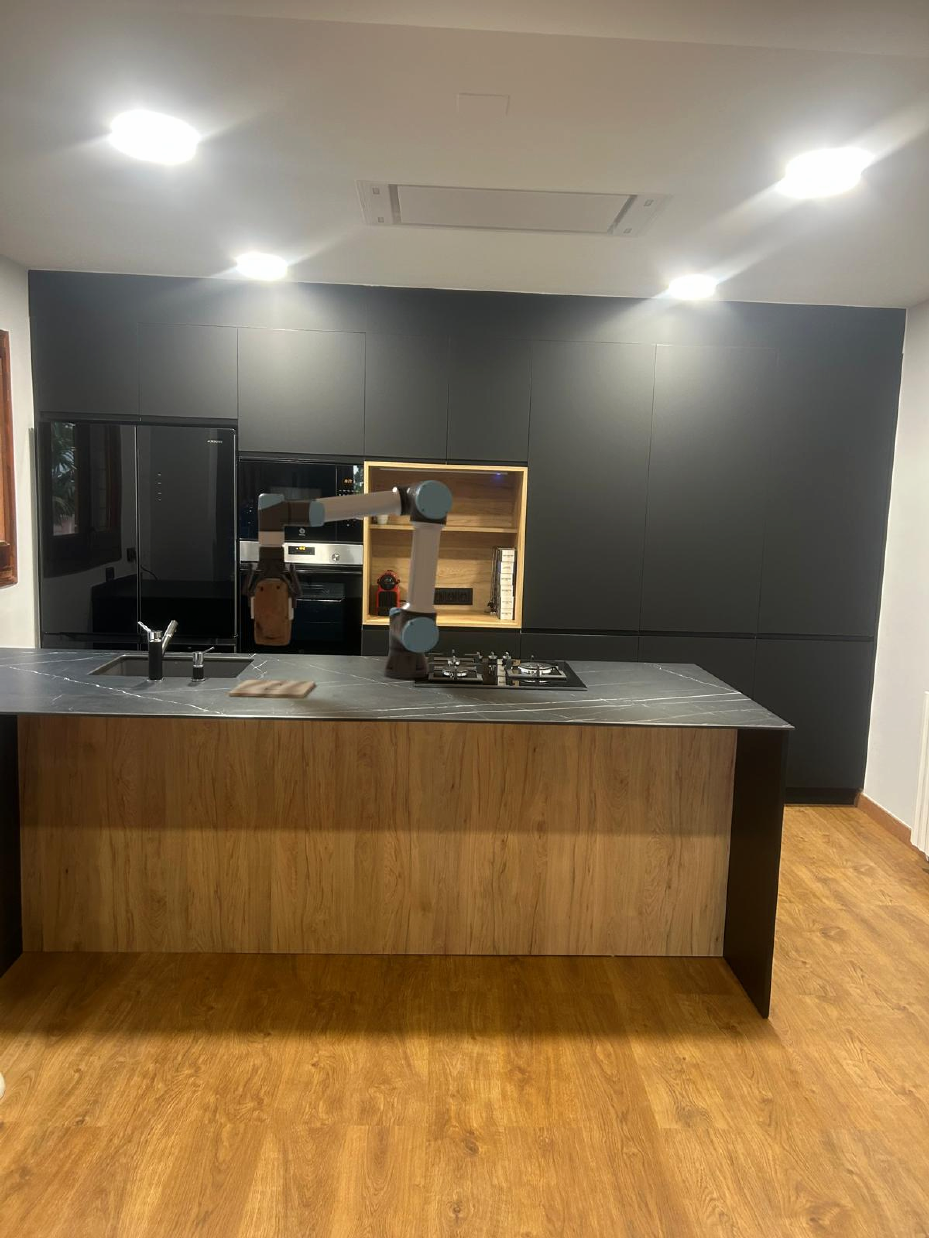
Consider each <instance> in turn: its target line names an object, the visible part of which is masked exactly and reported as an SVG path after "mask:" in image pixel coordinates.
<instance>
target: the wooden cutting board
mask: <svg viewBox="0 0 929 1238" xmlns="http://www.w3.org/2000/svg"><path fill="white" fill-rule="evenodd" d="M314 685H315V686H316V681H308V680H306V681H305V680H304V681H303V680H269V679H267V680H265V679H246V680H244V681H242V682H241V683H240V684H238V685H237V686H236V687H235V688H233V689H232V690H231V691H229V692H228V697H245V696H261V697H260V698H291V699H292V698H293V699H303V698H304V697H305V696H306V695H307V694H308V693H309V692H310V691H311V688H312V689H313V688H314ZM264 696H265V697H264Z"/></svg>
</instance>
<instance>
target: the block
mask: <svg viewBox="0 0 929 1238" xmlns="http://www.w3.org/2000/svg"><path fill="white" fill-rule="evenodd" d="M287 582H288V583H290V584H291V581H290V580H289V579H287ZM287 589H288V588H287V584H286V583H285V582H283V581H281V580H280V579H279V578H278V577H272V578H269V577H266V578H264V579H263V580H261V582H259V583H258V585H257V587H256V591H255V593H254V596H255V599H254V615H255V618H254V641H255V644H258V645H264V646H287V645H289V644H290V642H291V633H292V620H293V619H292V620H289V598H290V597H291V596H290V594H289V593H288V591H287Z"/></svg>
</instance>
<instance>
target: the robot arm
mask: <svg viewBox="0 0 929 1238" xmlns="http://www.w3.org/2000/svg"><path fill="white" fill-rule="evenodd" d="M453 504H454V503H453V494H452V492H451V491H450V489H449V487H447V485H446V484H444V483H442V482H441V481H438V480H435V479H434V480H433V479H432V480H430V479H428V480H421V481H417V482H416V481H415V482H413V483H410V484H406V485H405V484H404V485H401V486H394V487H393V488H392V490H384V491H377V492H376V491H375V492H367V493H366V492H365V493H357V494H348V495H341V496H340V495H339V496H338V495H337V496H331V497H329V496H328V497H322V498H320V497H319V498H315V499H303V500H300V499H299V500H285V495H284V494H282V493H279V494H278V493H261V494H260V495H259V496H258V505H257V506H258V507H257V518H258V519H257V520H258V545H260V546H259V547H258V561H257V562H250V563H249V562H248V564H247V569H248V571H247V574H246V577H245V580H244V583H243V586H242V588H241V594H242V595H244V596H246V597H247V606H248V608H250V615H251V617H250V618H251V619H253V620H255V615H254V599H255V591H256V587H257V585H258V583H259V582H261V580H263V579H266V578H269V577H272V578H277V579H280V580H281V581H283V582H285V583H286V584H287V588H288V589H287V591H288V593H289V594H290V596H291V597H290V598H289V620H293V619H294V609H297V604H298V603H297V602H298V601H297V598H298V597H301V596H302V595H303V590H302V587H301V584H300V581H299V578H298V575H297V572H296V564H295V563H286V561H285V560H286V559H285V555H286V553H285V547H284V545H285V527H313V528H314V527H322V526H324V524H325V523H327V522H335V521H342V520H351V519H353V520H354V519H361V518H368V517H377V516H378V517H380V516H387V515H396V516H397V517H407V516H408V517H409V523H410V525H412V527H413V532H412V543H411V544H412V545H411V555H410V564H409V571H408V572H409V574H408V584H407V593H406V603H404V604H403V605H402V606H400V607H399V606H398V607H397V606H395V607H391V608H390V609H389V615H388V619H389V624H388V625H389V631H388V634H389V635H388V637H389V638H388V639H389V643H388V645H389V646H388V647H389V649H388V650H389V651H388V655H387V658H386V661H385V664H384V666H383V667H384V668H383V675H384V676H385V677H388V678H393V679H405V680H407V679H409V680H411V679H421V678H425V677H427V676H426V675H427V674H428V671H429V670H430V668H429V663H428V662H427V658H426V655H425V652H429V651H430V650H432V649H433V648H434V647H435V646H436V645H437V642H438V640H439V636H440V632H439V630H440V629H439V627H438V625H437V618H438V610H437V609H436V607H435V606H434V599H435V590H436V582H437V581H436V579H437V571H438V563H439V561H438V560H439V552H440V550H439V549H440V544H441V543H440V542H441V531H442V530H443V529H444V528H445V527H446V526H447V522H448V521H447V520H448V514H449V513H450V511H451V509H452V507H453ZM257 568H258V569H259V570H260V573H259V575H258V576H257V579H255V582H254V583H253V585H252V586H251V584H252V580H253V577H254V573H255V571H256V570H257ZM285 569H286V570H287V571H288V572H289V575H290V579H291V582H292V583H293V587H294V588H293V587H292V584H291V582H290V583H288V582H287V580H288V578H287V577H286V574H285V573H284V571H285ZM265 577H266V578H265ZM429 672H430V671H429Z"/></svg>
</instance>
